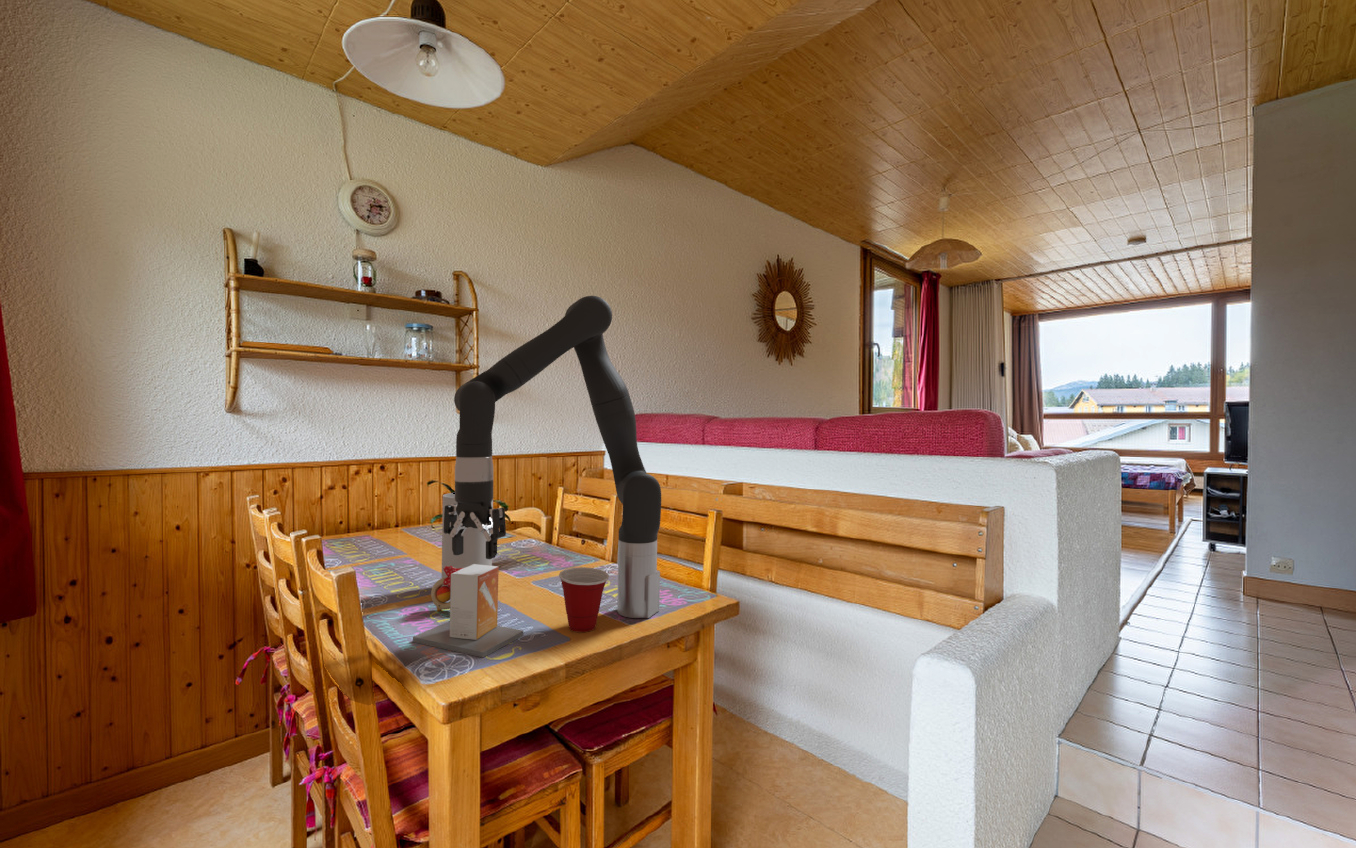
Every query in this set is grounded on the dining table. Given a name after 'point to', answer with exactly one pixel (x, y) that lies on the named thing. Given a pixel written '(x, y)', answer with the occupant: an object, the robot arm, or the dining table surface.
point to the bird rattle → (443, 589)
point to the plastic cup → (583, 596)
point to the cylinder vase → (471, 544)
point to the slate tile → (468, 640)
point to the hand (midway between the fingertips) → (474, 556)
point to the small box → (473, 601)
